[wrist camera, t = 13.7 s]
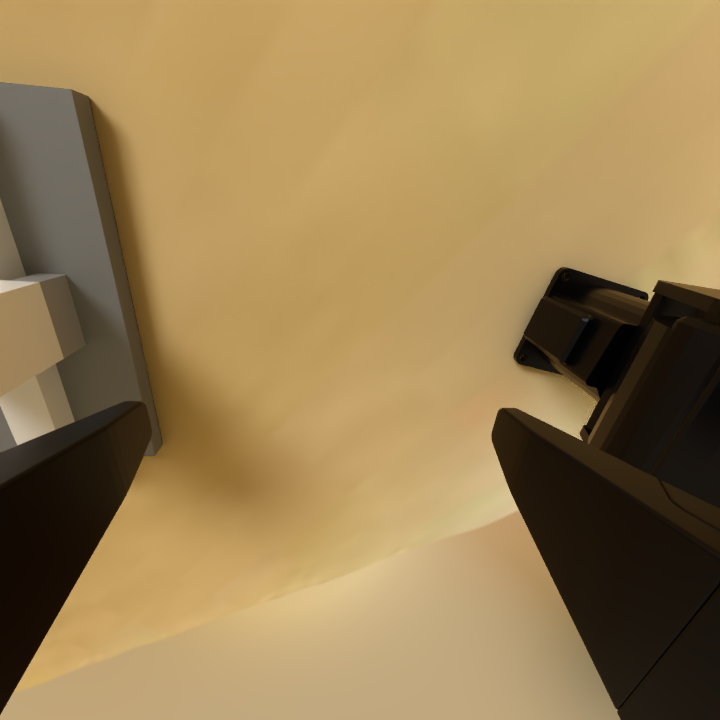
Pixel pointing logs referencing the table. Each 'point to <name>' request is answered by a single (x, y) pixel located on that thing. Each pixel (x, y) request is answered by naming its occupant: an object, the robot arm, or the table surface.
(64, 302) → the block
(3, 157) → the mounting board
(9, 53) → the table surface
